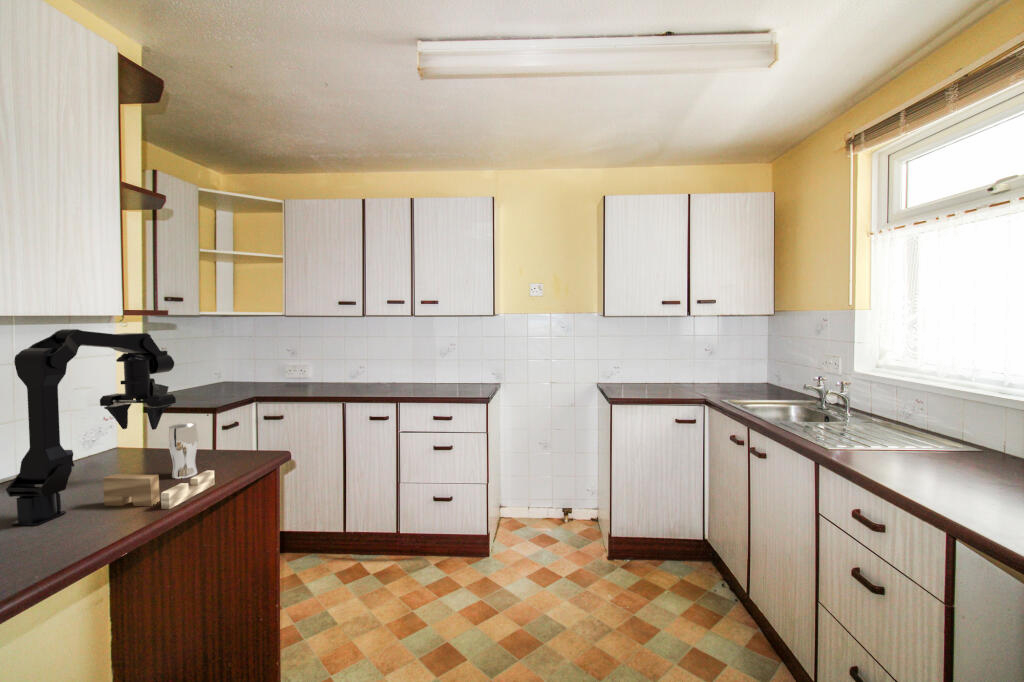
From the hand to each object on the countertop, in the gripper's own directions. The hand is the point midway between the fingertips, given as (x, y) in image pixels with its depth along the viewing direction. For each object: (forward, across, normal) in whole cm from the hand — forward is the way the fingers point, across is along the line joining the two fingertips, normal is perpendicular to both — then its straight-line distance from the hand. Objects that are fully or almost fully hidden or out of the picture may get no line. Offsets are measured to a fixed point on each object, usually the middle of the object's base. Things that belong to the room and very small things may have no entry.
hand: (139, 429), depth 130 cm
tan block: (+14, -14, +18) cm, 27 cm away
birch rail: (+14, -25, +12) cm, 31 cm away
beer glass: (+14, -12, -2) cm, 19 cm away
